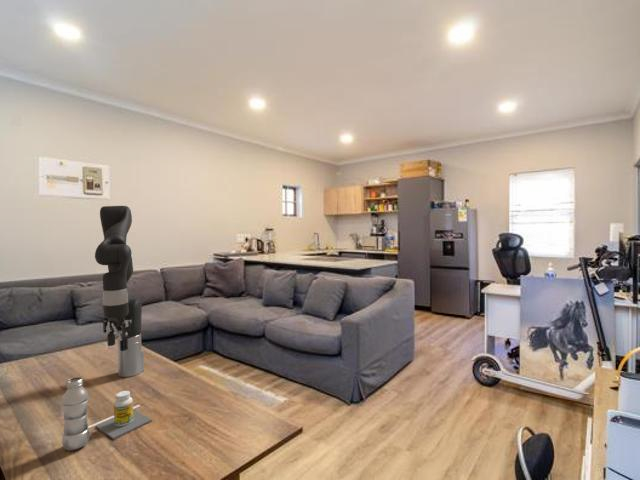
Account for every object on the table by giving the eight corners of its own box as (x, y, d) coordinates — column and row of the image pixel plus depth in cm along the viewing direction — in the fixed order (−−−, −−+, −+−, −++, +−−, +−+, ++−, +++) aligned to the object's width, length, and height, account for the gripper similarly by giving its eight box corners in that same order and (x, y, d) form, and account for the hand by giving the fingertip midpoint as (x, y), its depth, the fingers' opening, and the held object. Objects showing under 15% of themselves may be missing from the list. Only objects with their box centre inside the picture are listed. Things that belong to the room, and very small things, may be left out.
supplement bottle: (132, 416, 115) (131, 388, 114) (134, 423, 110) (133, 394, 110) (114, 421, 112) (113, 392, 112) (114, 428, 107) (113, 399, 107)
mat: (133, 410, 119) (133, 409, 119) (152, 421, 113) (152, 419, 112) (95, 427, 109) (95, 425, 109) (113, 439, 103) (113, 437, 103)
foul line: (138, 405, 123) (138, 404, 123) (140, 406, 122) (140, 405, 122) (75, 433, 106) (75, 432, 106) (76, 434, 106) (76, 433, 106)
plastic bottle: (71, 440, 102) (69, 375, 102) (94, 439, 103) (93, 374, 102) (56, 454, 96) (54, 385, 95) (81, 453, 97) (79, 384, 96)
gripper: (137, 302, 116) (139, 348, 117) (116, 297, 124) (118, 340, 125) (114, 307, 110) (116, 355, 111) (93, 301, 117) (96, 347, 118)
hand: (117, 347), depth 118 cm, fingers open, 8 cm apart
